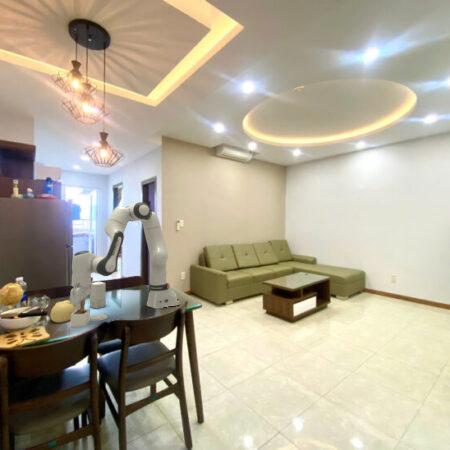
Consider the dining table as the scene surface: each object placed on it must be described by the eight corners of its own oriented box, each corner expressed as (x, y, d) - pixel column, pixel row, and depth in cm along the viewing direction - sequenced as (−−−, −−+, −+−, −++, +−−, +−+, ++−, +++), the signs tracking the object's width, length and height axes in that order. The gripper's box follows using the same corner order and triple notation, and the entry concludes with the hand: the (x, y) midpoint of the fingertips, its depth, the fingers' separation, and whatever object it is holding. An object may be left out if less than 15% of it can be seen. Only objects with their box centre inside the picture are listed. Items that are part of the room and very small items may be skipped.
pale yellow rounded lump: (79, 316, 141) (80, 297, 141) (67, 324, 129) (67, 304, 129) (59, 316, 141) (60, 297, 141) (45, 324, 129) (45, 304, 129)
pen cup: (89, 321, 134) (90, 309, 134) (85, 327, 127) (85, 314, 127) (76, 322, 132) (76, 309, 132) (70, 328, 126) (70, 314, 126)
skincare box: (105, 306, 158) (106, 282, 158) (95, 309, 153) (96, 284, 152) (99, 303, 163) (99, 280, 163) (89, 306, 157) (89, 282, 157)
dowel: (85, 322, 132) (85, 294, 132) (82, 324, 128) (83, 296, 128) (78, 322, 131) (78, 295, 131) (75, 325, 128) (76, 297, 128)
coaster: (109, 315, 144) (109, 314, 144) (105, 321, 135) (105, 320, 135) (93, 316, 142) (93, 315, 142) (87, 322, 133) (87, 321, 133)
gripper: (80, 286, 120) (79, 314, 120) (94, 277, 140) (93, 300, 140) (66, 286, 119) (65, 314, 119) (82, 277, 139) (81, 301, 139)
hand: (80, 307), depth 130 cm, fingers open, 5 cm apart
